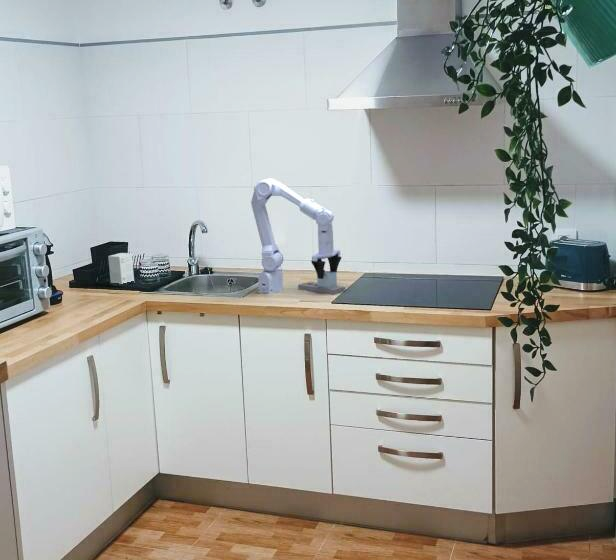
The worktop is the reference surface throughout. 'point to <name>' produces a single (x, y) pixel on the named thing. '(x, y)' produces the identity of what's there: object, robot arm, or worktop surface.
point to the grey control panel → (320, 288)
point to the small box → (121, 268)
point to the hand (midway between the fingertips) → (327, 276)
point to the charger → (328, 280)
